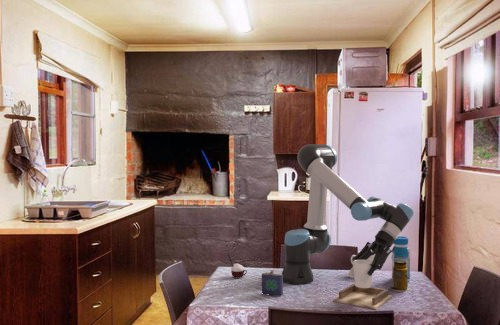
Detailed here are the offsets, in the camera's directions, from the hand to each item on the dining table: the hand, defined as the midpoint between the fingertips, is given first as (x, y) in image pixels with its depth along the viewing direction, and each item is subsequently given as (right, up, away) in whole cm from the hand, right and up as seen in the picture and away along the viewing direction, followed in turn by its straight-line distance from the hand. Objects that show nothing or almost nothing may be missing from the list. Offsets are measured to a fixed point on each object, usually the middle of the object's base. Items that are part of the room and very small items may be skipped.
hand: (356, 278), depth 185 cm
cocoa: (-49, -9, +38) cm, 63 cm away
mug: (+13, -9, +39) cm, 42 cm away
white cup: (+3, -4, +1) cm, 5 cm away
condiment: (+22, -9, +16) cm, 29 cm away
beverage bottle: (+28, -9, +30) cm, 42 cm away
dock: (+3, -9, +2) cm, 10 cm away
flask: (-34, -10, +9) cm, 36 cm away
